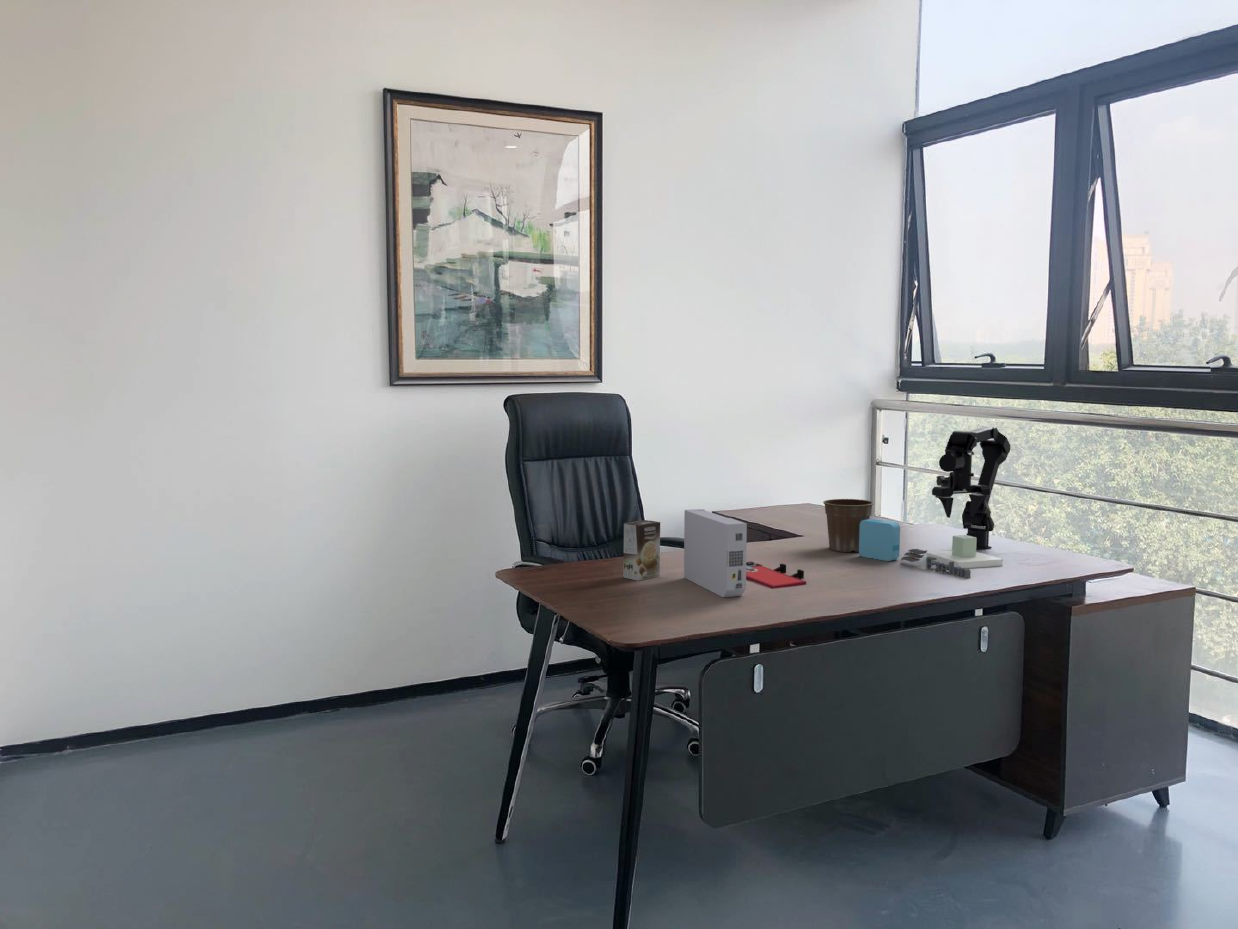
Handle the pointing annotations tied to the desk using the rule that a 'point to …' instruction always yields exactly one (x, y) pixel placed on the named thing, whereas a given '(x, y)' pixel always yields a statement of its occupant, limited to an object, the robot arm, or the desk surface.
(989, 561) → the base plate
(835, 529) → the plant pot
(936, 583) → the desk surface
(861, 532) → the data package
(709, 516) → the game console
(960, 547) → the sage block
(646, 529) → the coffee box
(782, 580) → the red board with handle
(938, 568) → the extruded letter logo
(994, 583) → the desk surface
